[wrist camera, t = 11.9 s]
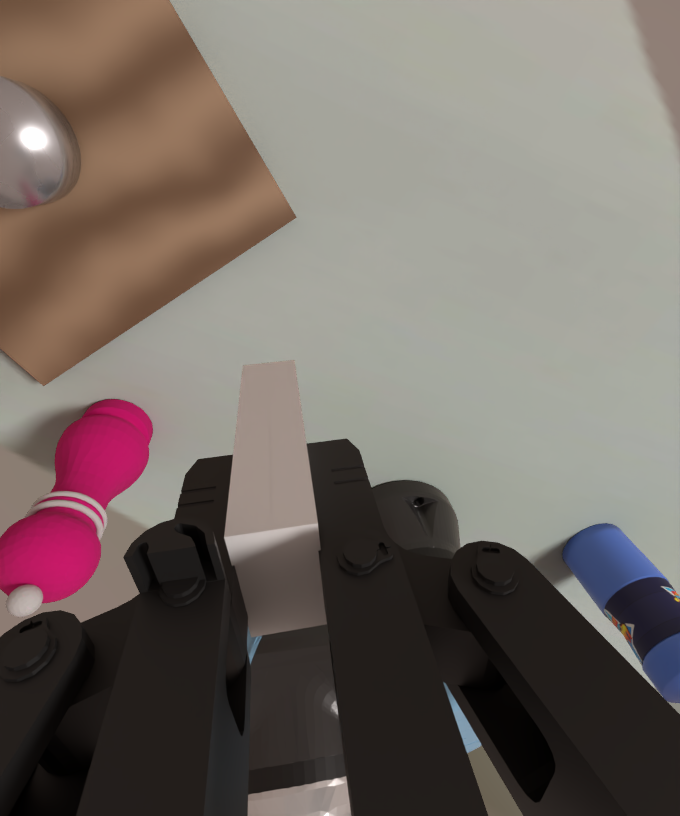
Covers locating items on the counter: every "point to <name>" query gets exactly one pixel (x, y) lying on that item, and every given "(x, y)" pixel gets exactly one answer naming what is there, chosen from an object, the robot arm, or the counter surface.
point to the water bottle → (631, 600)
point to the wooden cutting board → (123, 178)
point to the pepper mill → (74, 507)
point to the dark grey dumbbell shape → (34, 148)
